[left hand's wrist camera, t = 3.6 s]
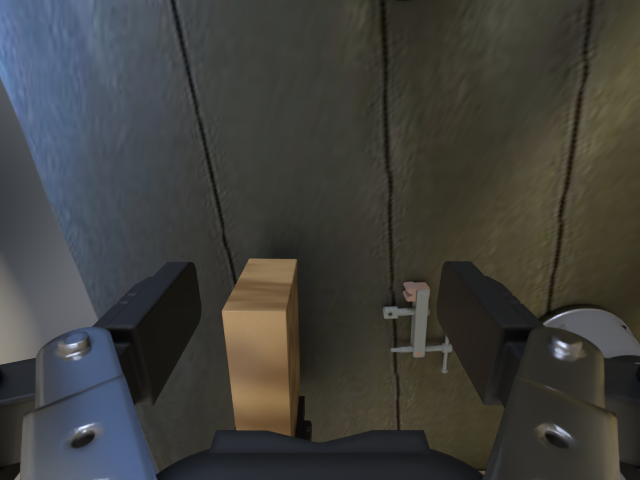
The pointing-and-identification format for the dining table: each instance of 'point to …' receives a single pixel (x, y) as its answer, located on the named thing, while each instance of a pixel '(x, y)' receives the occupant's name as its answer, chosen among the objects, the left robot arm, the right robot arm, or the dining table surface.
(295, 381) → the box
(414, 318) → the clamp
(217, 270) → the dining table surface
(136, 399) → the left robot arm
